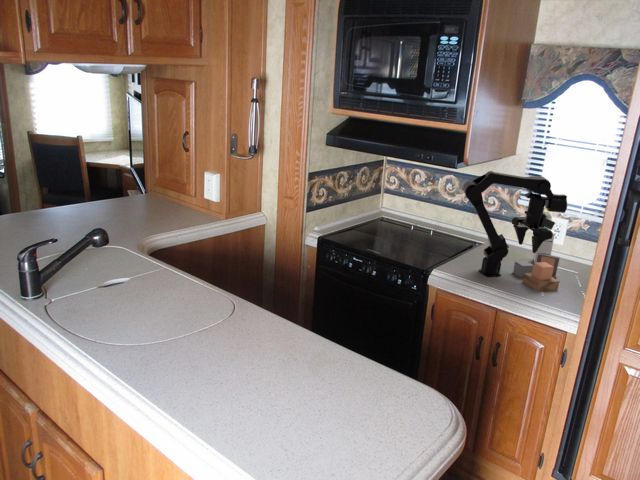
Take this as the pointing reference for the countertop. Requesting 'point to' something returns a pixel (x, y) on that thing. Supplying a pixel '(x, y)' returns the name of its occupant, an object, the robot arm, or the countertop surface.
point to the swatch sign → (549, 262)
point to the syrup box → (545, 247)
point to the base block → (540, 283)
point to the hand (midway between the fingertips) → (527, 248)
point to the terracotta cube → (542, 270)
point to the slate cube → (522, 268)
